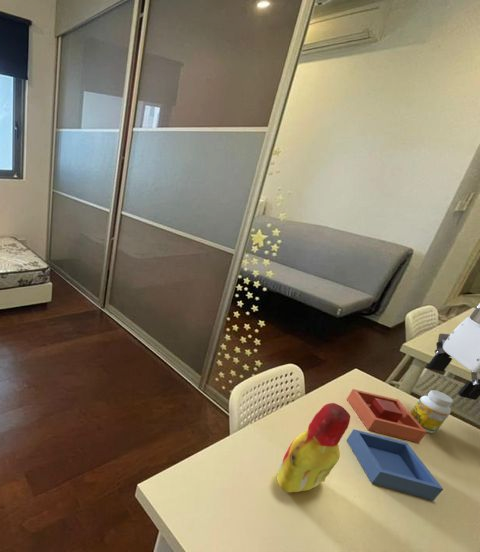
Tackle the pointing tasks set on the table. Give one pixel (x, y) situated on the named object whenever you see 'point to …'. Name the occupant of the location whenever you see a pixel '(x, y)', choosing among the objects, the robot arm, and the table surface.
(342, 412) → the bottle
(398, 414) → the red block
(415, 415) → the supplement bottle
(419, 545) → the table surface
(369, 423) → the terracotta bin
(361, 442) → the blue bin
